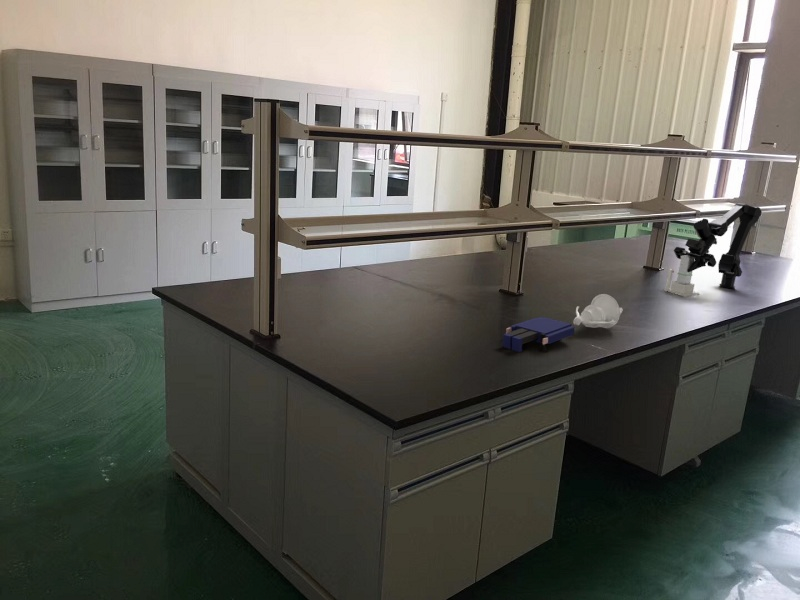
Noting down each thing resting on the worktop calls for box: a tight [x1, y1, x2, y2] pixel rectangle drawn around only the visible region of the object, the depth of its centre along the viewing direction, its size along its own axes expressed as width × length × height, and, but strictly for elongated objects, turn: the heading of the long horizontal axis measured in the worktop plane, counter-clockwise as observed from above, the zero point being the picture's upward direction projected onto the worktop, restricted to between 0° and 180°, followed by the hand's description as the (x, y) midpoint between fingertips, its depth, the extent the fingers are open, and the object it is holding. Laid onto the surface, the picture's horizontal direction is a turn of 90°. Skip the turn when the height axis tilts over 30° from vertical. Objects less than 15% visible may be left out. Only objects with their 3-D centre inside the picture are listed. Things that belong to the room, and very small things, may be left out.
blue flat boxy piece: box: [502, 316, 575, 353], centre depth 212 cm, size 15×6×25 cm
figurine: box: [572, 293, 624, 329], centre depth 229 cm, size 17×12×25 cm
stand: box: [663, 268, 700, 297], centre depth 293 cm, size 10×11×10 cm
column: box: [676, 255, 696, 285], centre depth 292 cm, size 4×4×13 cm
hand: (683, 270), depth 291 cm, fingers closed on column, 4 cm apart
